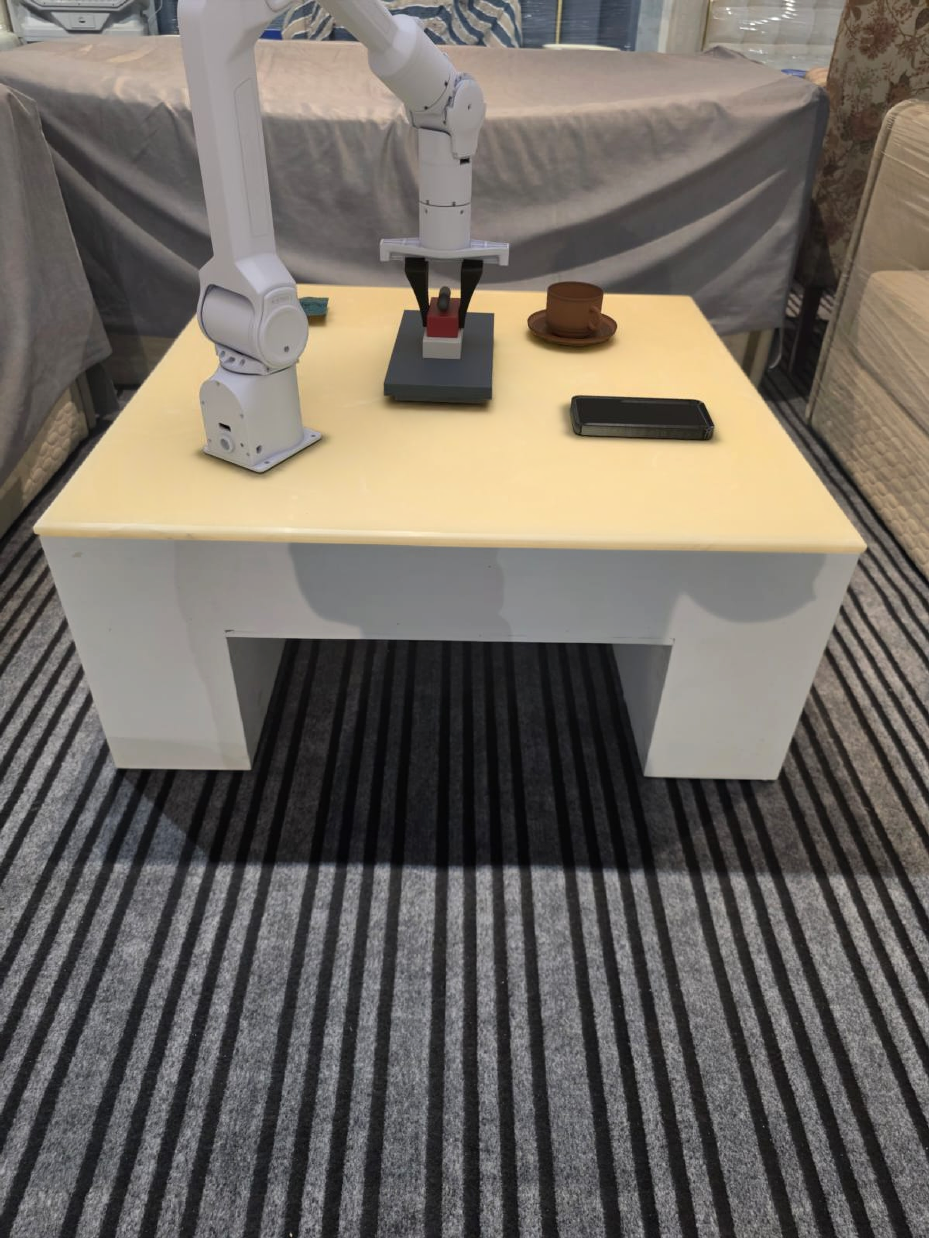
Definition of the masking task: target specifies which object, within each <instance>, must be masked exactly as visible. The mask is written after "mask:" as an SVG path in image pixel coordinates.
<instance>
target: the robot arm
mask: <svg viewBox="0 0 929 1238" xmlns="http://www.w3.org/2000/svg"><path fill="white" fill-rule="evenodd" d="M302 1H303V0H178V1H177V5H176V6H177V7H176V15H177V17H176V18H177V27H178V33H179V39H180V40H179V41H180V46H181V52H182V59H183V65H184V71H185V79H186V84H187V90H188V98H189V104H190V111H191V116H192V123H193V129H194V136H195V142H196V149H197V150H196V151H197V155H198V162H199V169H200V175H201V179H202V180H201V181H202V187H203V195H204V202H205V207H206V213H207V219H208V220H207V221H208V227H209V232H210V240H211V245H212V252H213V256H212V257H211V258H210V259H209V260H208V261H207V262H206V263H205V264H204V265H203V266H202V267H200V269H199V271H198V279H199V285H200V287H199V288H200V289H199V290H200V291H199V298H198V302H197V306H196V319H197V324H198V327H199V329H200V331H201V333H202V334H203V336H204V337H205V338H206V339H207V340H208V341H209V342H211V343H212V344H213V345H214V346H213V347H214V351H215V355H216V356H217V357H218V362H219V363H218V366H217V368H216V370H215V371H214V373H213V374H212V375H211V376H210V377H208V378H207V379H206V380H204V381H203V383H202V384H201V386H200V388H199V396H198V399H199V405H200V410H201V415H202V421H203V427H204V432H205V436H206V442H207V444H206V445H204V446H203V448H202V450H203V452H204V453H205V454H208V455H211V456H214V457H217V458H219V459H222V460H224V461H226V462H230V463H233V464H235V465H237V466H240V467H243V468H245V469H248V470H251V471H253V472H256V473H264V472H266V471H268V470H269V469H271V468H272V467H274V466H276V465H278V464H280V463H281V462H283V461H285V460H286V459H288V458H290V457H292V456H293V455H295V454H297V453H298V452H300V451H301V450H304V449H305V448H307V447H308V446H310V445H312V444H314V443H315V442H317V441H318V440H320V439H322V433H321V432H319V431H316V430H313V429H310V428H307V427H304V426H303V418H302V409H301V400H300V399H301V398H300V391H299V382H298V381H299V380H298V372H297V365H298V364H299V363H300V357H301V356H302V355H303V353H304V351H305V349H306V347H307V344H308V340H309V336H310V335H309V333H310V328H309V320H308V316H307V315H306V314H305V312H304V310H303V308H302V307H301V305H300V302H299V295H298V287H297V283H296V280H295V279H294V277H293V275H291V273H290V271H289V270H288V269H287V268H286V266H285V265H284V263H283V262H282V260H281V259H280V257H279V256H278V254H277V247H276V238H275V229H274V228H275V227H274V218H273V210H272V201H271V193H270V184H269V175H268V165H267V164H268V163H267V158H266V157H267V156H266V155H267V154H266V147H265V137H264V128H263V121H262V120H263V119H262V111H261V104H260V103H261V102H260V93H259V85H258V75H257V66H256V58H255V57H256V56H255V45H256V44H257V42H258V41H259V39H260V38H261V37H262V35H263V34H264V33H265V31H266V30H267V28H268V27H269V26H270V25H271V23H272V22H273V20H275V19H276V18H278V17H279V16H281V15H282V14H284V13H285V12H287V11H289V10H291V8H293V7H294V6H296V5H297V4H299V3H301V2H302ZM313 1H314V2H315V3H316V4H317V5H318V6H319V7H320V8H322V9H323V10H324V11H325V12H326V13H327V14H328V15H330V17H332V18H333V19H334V20H335V21H336V22H337V23H338V24H340V25H341V26H342V27H343V28H344V29H345V30H346V31H347V32H348V33H350V34H351V35H352V36H353V37H354V38H355V39H356V40H357V41H358V42H359V43H361V44H362V45H363V47H365V48H366V49H367V53H366V55H367V63H368V67H369V69H370V71H371V73H372V74H373V75H374V76H375V77H376V78H377V80H379V81H380V82H381V83H382V84H383V85H384V86H385V87H386V88H387V89H388V90H389V91H390V92H391V93H392V94H393V95H394V96H395V97H396V98H397V99H398V100H399V101H400V102H401V103H402V104H403V105H404V112H405V116H406V120H407V121H408V124H409V126H410V127H412V128H415V129H416V130H417V131H418V133H417V135H418V137H417V138H418V229H419V230H418V231H419V232H418V233H419V234H418V235H419V237H404V238H403V237H402V238H381V240H380V242H379V261H380V262H390V261H404V269H403V270H404V274H405V277H406V279H407V281H408V282H409V285H410V287H411V289H412V291H413V293H414V297H415V300H416V302H417V305H418V310H420V313H421V317H422V324H423V327H427V314H428V310H429V305H430V298H429V276H430V275H429V273H430V272H429V270H430V268H429V267H430V262H439V263H440V262H443V263H461V266H460V295H459V296H460V297H459V298H460V311H459V328H464V326H465V318H466V314H467V312H468V309H469V306H470V304H471V301H472V298H473V295H474V293H475V290H476V288H477V286H478V284H479V282H480V280H481V278H482V276H483V273H484V272H483V271H484V264H493V265H494V264H495V265H496V264H497V265H498V266H500V267H501V266H502V267H503V266H504V267H508V266H509V258H510V243H509V242H508V243H507V242H495V241H488V240H480V239H472V238H471V227H472V226H471V223H472V191H473V190H472V189H473V187H472V186H473V156H475V155H476V152H477V149H478V145H479V143H478V142H479V134H480V131H481V128H482V127H483V124H484V121H485V118H486V112H487V103H486V102H485V99H484V98H485V97H484V93H483V90H482V88H481V85H480V84H479V83H478V82H477V80H476V79H475V77H474V76H473V75H472V74H470V73H468V72H463V71H457V69H456V68H455V66H454V65H453V64H452V62H451V61H452V58H451V56H449V55H448V54H447V52H445V51H441V50H440V49H439V47H437V45H436V44H435V43H434V42H433V40H431V38H430V37H429V36H428V34H426V33H425V28H426V25H425V23H424V22H423V20H421V18H420V17H419V16H411V15H409V14H405V13H399V14H393V15H392V13H391V12H390V10H389V9H388V8H387V6H386V5H385V4H384V2H383V1H382V0H313Z"/></svg>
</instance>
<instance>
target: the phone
mask: <svg viewBox="0 0 929 1238" xmlns="http://www.w3.org/2000/svg"><path fill="white" fill-rule="evenodd" d="M570 414H571V415H570V416H571V421H572V427H573V431H574V432H575V433H576V434H578V435H581V436H597V437H598V436H602V437H628V438H629V437H630V438H656V439H659V438H660V439H683V440H684V439H685V440H709V439H711V438H713V436H714V431H715V423H714V421H713V419H712V417H711V414H710V412H709V410H708V408H707V405H706V403H704V402H703V401H702V400H699V399H695V398H673V397H645V396H644V397H643V396H642V397H641V396H616V395H615V396H614V395H588V394H576V395H573V396H571V400H570Z"/></svg>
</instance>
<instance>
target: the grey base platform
mask: <svg viewBox="0 0 929 1238" xmlns="http://www.w3.org/2000/svg"><path fill="white" fill-rule="evenodd" d="M402 312H403V313H402V316H401V320H400V323H399V327H398V329H397V333H396V338H395V341H394V344H393V348H392V351H391V356H390V359H389V362H388V365H387V366H388V367H387V369H386V373H385V377H384V380H383V396H386V397H394V399H395V401H401V402H402V401H405V402H407V401H408V402H428V403H429V402H430V403H454V404H455V403H456V404H480V405H482V404H483V401H484V400H487V401H489V400H491V401H492V399H493V398H492V396H493V375H494V374H493V373H494V372H493V371H494V370H493V369H494V341H495V340H494V339H495V312H479V311H477V312H476V311H475V312H474V311H467V314H466V318H465V326H464V328H463V339H462V348H461V356H460V359H437V358H423V338H424V333H425V328H426V327H423V324H422V317H421V313H420V309H404V310H403V311H402Z"/></svg>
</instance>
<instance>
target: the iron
mask: <svg viewBox="0 0 929 1238" xmlns="http://www.w3.org/2000/svg"><path fill="white" fill-rule="evenodd" d="M451 295H452V290H451V288H450V287H449V286H446V285H443V286H441V287H440V288H439V291H438V296H431V297H430V299H429V310H428V314H427V327H426V328H425V333H424V338H423V358H437V359H460V356H461V348H462V339H463V328H459V311H460V297H451Z"/></svg>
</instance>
